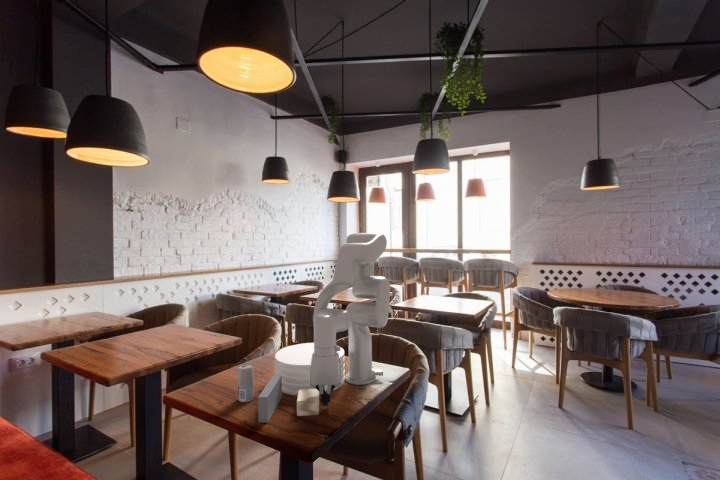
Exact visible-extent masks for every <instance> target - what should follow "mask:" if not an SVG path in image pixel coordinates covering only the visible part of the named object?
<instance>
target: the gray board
mask: <svg viewBox="0 0 720 480" xmlns="http://www.w3.org/2000/svg"><path fill="white" fill-rule="evenodd" d="M282 397H283V392H282V375H275V374H273V375H272V377H271V378H270V380H269V381H267V383H266V385H265V387H264V388H263V389H262V391H261V392H260V394H259V396H257V404H258V405H257V407H258V408H257V411H258V413H257V414H258V418H257V419H258V420H257V421H258V423H269V421H270V419H271V417H272V415H273V414H274V412H275V410H276V408H277V407H278V405H279V403H280V401H281V400H282Z"/></svg>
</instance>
